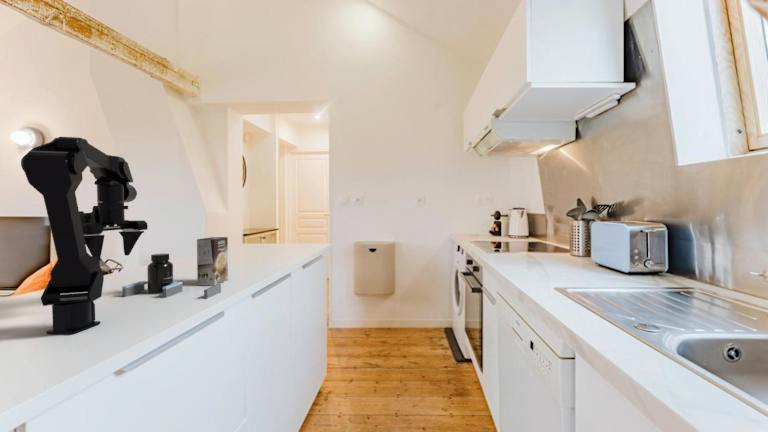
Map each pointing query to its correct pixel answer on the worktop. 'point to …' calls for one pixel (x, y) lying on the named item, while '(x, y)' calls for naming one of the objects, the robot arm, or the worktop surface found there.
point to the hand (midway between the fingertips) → (112, 257)
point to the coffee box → (212, 260)
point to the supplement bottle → (159, 273)
